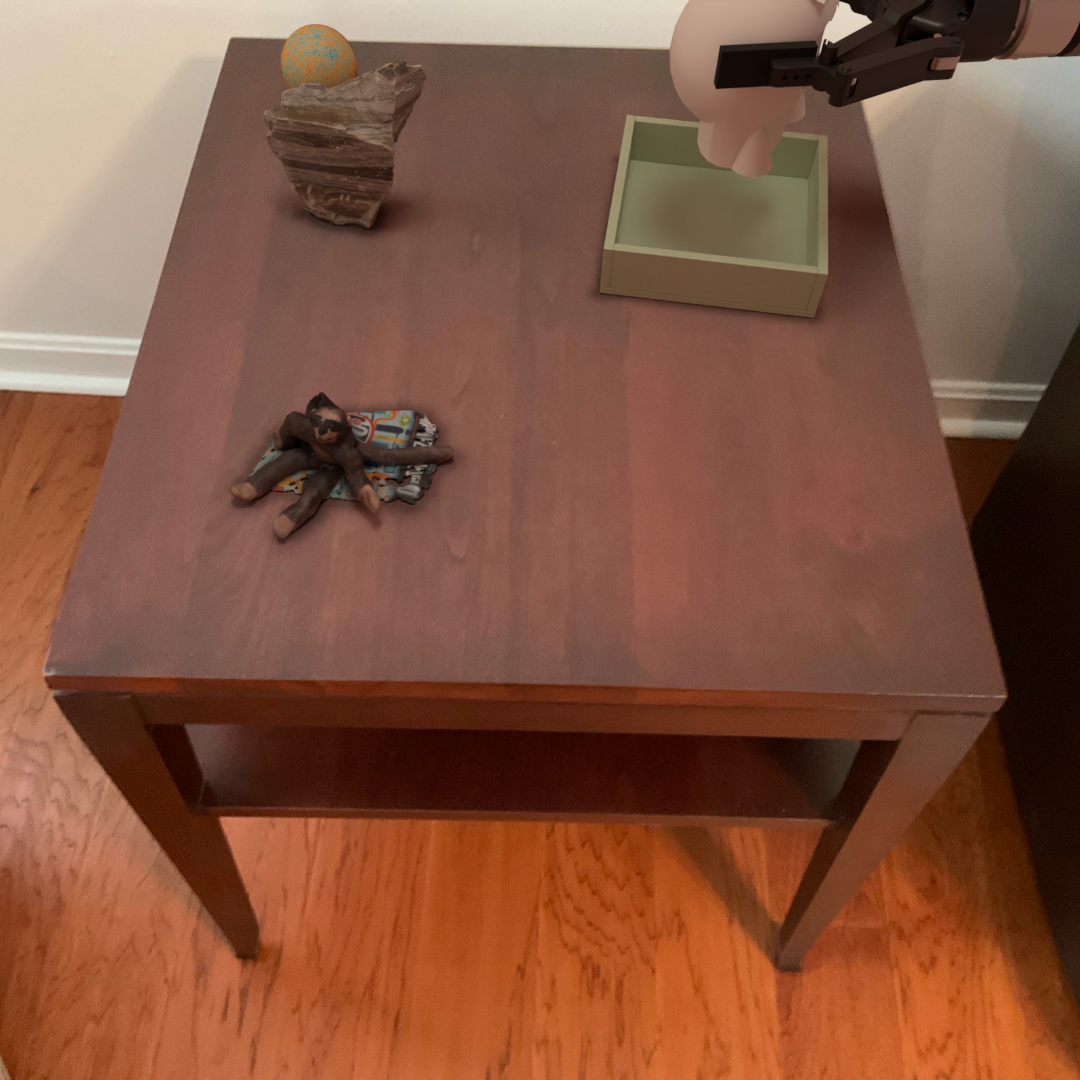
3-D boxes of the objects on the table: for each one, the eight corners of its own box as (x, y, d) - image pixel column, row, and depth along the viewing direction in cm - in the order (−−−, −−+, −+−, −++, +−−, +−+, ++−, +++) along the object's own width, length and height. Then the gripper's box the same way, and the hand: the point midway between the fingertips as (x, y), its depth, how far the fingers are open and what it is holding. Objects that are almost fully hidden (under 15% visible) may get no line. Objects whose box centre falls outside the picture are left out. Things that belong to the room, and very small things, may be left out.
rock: (276, 214, 89) (237, 52, 77) (305, 174, 92) (272, 11, 80) (412, 247, 87) (394, 86, 75) (437, 204, 90) (424, 43, 78)
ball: (355, 124, 96) (344, 54, 91) (281, 120, 97) (266, 50, 91) (367, 80, 100) (357, 10, 94) (296, 76, 101) (282, 6, 95)
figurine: (638, 147, 79) (659, -55, 66) (692, 70, 84) (721, -129, 72) (776, 190, 76) (826, -11, 63) (823, 108, 82) (877, -93, 69)
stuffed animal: (202, 459, 73) (305, 329, 71) (293, 488, 82) (387, 373, 79) (286, 570, 68) (400, 433, 66) (373, 588, 77) (476, 469, 74)
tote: (815, 180, 93) (828, 135, 89) (814, 318, 83) (828, 274, 79) (622, 160, 94) (626, 114, 90) (599, 293, 85) (603, 248, 81)
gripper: (1038, 151, 71) (726, 170, 69) (930, -31, 83) (665, -19, 82) (1088, 48, 64) (747, 66, 63) (963, -132, 77) (676, -121, 75)
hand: (700, 18), depth 72 cm, fingers closed on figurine, 11 cm apart
